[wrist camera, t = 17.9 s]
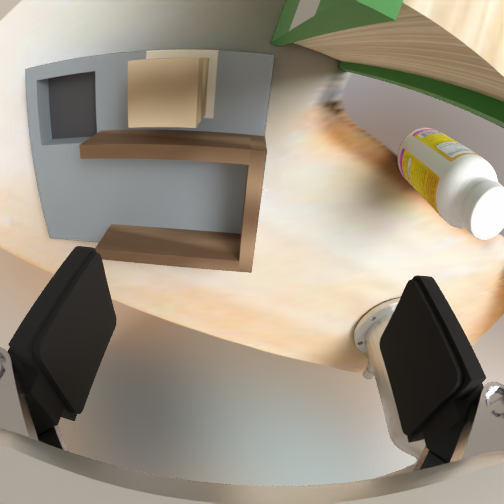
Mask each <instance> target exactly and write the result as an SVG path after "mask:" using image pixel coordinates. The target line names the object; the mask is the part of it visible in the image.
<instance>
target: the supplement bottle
mask: <svg viewBox="0 0 504 504" xmlns="http://www.w3.org/2000/svg"><path fill="white" fill-rule="evenodd" d="M398 166H399V170H400V172H401V174H402V176H403V177H404V178H405V179H406V181H407V182H408V183H409V184H410V185H411V186H412V187H413V188H414V189H415V190H416V191H417V192H418V193H419V194H420V195H421V196H422V197H423V198H424V199H425V200H426V201H427V202H428V203H429V204H430V205H431V206H432V207H433V208H434V209H435V210H436V212H437V213H438V214H439V215H440V216H441V217H442V218H443V219H444V220H445V221H446V222H447V223H448V224H450V225H451V226H454V227H456V228H467V229H468V231H469V232H470V233H471V234H472V235H473V236H474V237H476V238H477V239H480V240H487V239H490V238H492V237H494V236H496V235H497V234H498V233H499V232H500V231H501V230H502V229H503V228H504V187H503V186H502V185H501V184H500V183H498V181H497V176H496V173H495V171H494V169H493V168H492V166H491V165H490V164H489V163H488V162H487V161H486V160H485V159H483V158H482V157H480V156H479V155H477V154H476V153H474V152H472V151H471V150H469V149H467V148H466V147H464V146H463V145H461V144H460V143H458V142H456V141H455V140H453V139H451V138H450V137H448V136H446V135H444V134H442V133H441V132H439V131H437V130H434V129H431V128H420V129H417V130H414V131H412V132H411V133H410V134H408V135H407V136H406V137H405V139H404V140H403V142H402V144H401V145H400V148H399V151H398Z"/></svg>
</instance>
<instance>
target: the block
mask: <svg viewBox="0 0 504 504" xmlns="http://www.w3.org/2000/svg"><path fill="white" fill-rule="evenodd" d="M208 67H209V58H206V57H178V58H151V59H141V60H132V61H128V128H136V127H180V128H196V127H197V126H198V124H199V123H200V122H201V120H202V119H203V117H204V116H205V115H206V98H207V82H208Z"/></svg>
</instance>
